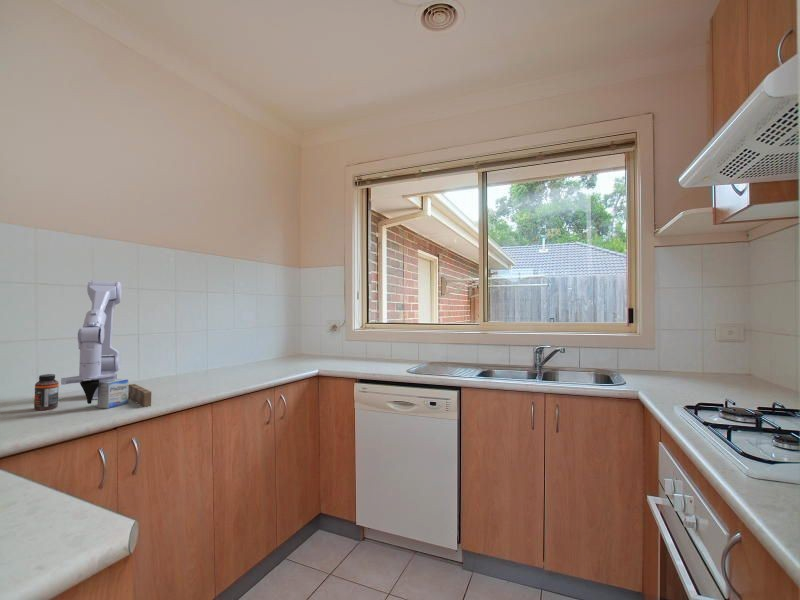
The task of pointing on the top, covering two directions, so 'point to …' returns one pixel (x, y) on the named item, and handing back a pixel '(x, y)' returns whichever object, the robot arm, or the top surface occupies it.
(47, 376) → the supplement bottle
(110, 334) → the robot arm
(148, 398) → the walnut board
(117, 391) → the medicine box
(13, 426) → the top surface
